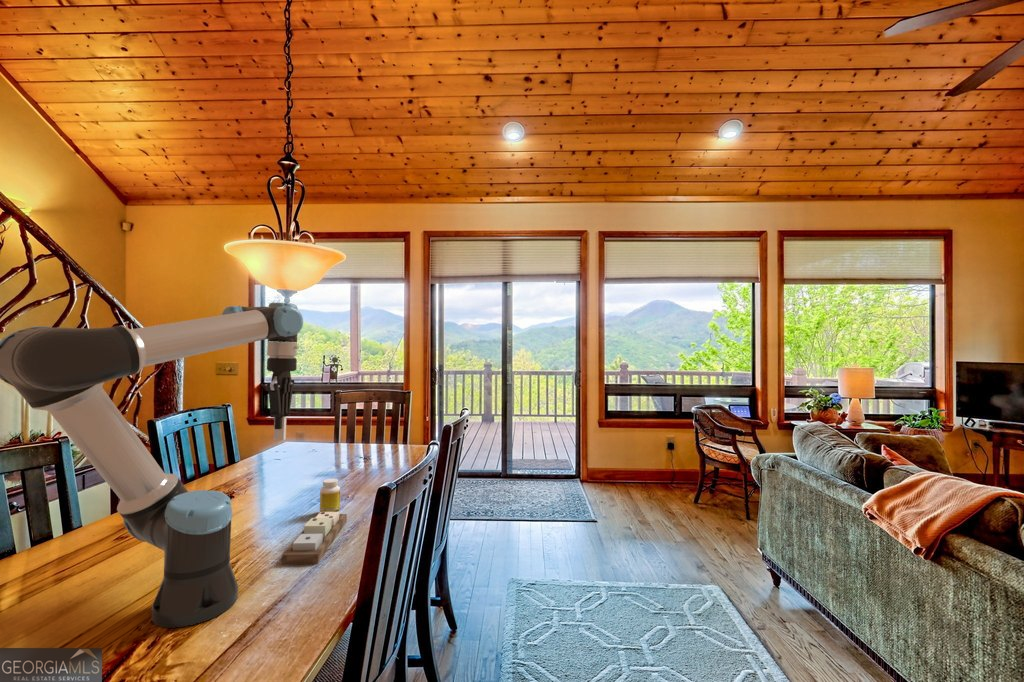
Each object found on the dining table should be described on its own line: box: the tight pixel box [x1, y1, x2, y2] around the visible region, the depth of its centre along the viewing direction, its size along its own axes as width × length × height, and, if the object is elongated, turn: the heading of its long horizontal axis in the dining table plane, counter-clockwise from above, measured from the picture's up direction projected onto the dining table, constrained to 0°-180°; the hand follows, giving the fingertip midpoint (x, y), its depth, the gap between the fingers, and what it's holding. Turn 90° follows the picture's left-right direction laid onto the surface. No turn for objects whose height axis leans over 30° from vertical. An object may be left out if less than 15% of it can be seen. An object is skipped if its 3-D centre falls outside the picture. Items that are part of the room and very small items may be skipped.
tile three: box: [314, 511, 340, 525], centre depth 135 cm, size 6×6×3 cm
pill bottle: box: [319, 478, 341, 513], centre depth 148 cm, size 6×6×11 cm
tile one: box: [292, 533, 323, 551], centre depth 119 cm, size 6×6×3 cm
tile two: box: [303, 517, 332, 537], centre depth 127 cm, size 6×6×3 cm
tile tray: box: [281, 513, 348, 565], centre depth 127 cm, size 27×9×2 cm, turn 6°
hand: (279, 439), depth 125 cm, fingers closed
